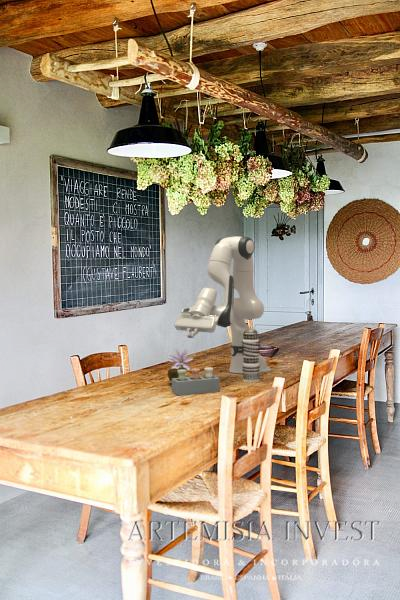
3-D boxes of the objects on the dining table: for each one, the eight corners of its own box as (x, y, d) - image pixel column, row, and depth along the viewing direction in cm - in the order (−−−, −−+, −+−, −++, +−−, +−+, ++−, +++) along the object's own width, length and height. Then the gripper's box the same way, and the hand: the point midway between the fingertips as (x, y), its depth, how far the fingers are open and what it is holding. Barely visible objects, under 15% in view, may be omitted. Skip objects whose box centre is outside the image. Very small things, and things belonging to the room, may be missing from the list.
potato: (191, 382, 302) (191, 365, 301) (176, 386, 291) (176, 370, 290) (177, 380, 306) (177, 364, 305) (162, 385, 295) (161, 368, 295)
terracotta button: (198, 383, 282) (198, 368, 282) (201, 384, 279) (201, 369, 278) (190, 383, 281) (189, 368, 280) (193, 385, 277) (192, 370, 277)
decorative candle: (259, 382, 298) (259, 331, 297) (240, 381, 300) (240, 330, 298) (261, 378, 307) (261, 328, 306) (243, 378, 309) (242, 328, 307)
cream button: (211, 381, 285) (211, 366, 284) (214, 383, 281) (214, 368, 280) (203, 382, 283) (203, 367, 283) (206, 384, 279) (206, 369, 279)
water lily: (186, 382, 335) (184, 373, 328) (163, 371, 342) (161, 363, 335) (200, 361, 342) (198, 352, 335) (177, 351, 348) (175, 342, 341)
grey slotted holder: (212, 387, 288) (212, 374, 287) (219, 391, 279) (219, 378, 279) (171, 391, 281) (171, 378, 280) (178, 395, 272) (178, 382, 272)
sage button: (184, 384, 280) (184, 369, 279) (187, 386, 276) (187, 370, 276) (176, 385, 278) (176, 369, 278) (179, 386, 275) (179, 371, 274)
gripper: (221, 320, 290) (212, 343, 282) (183, 317, 299) (173, 339, 291) (217, 311, 286) (208, 334, 278) (179, 309, 295) (168, 331, 287)
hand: (190, 337), depth 284 cm, fingers closed
